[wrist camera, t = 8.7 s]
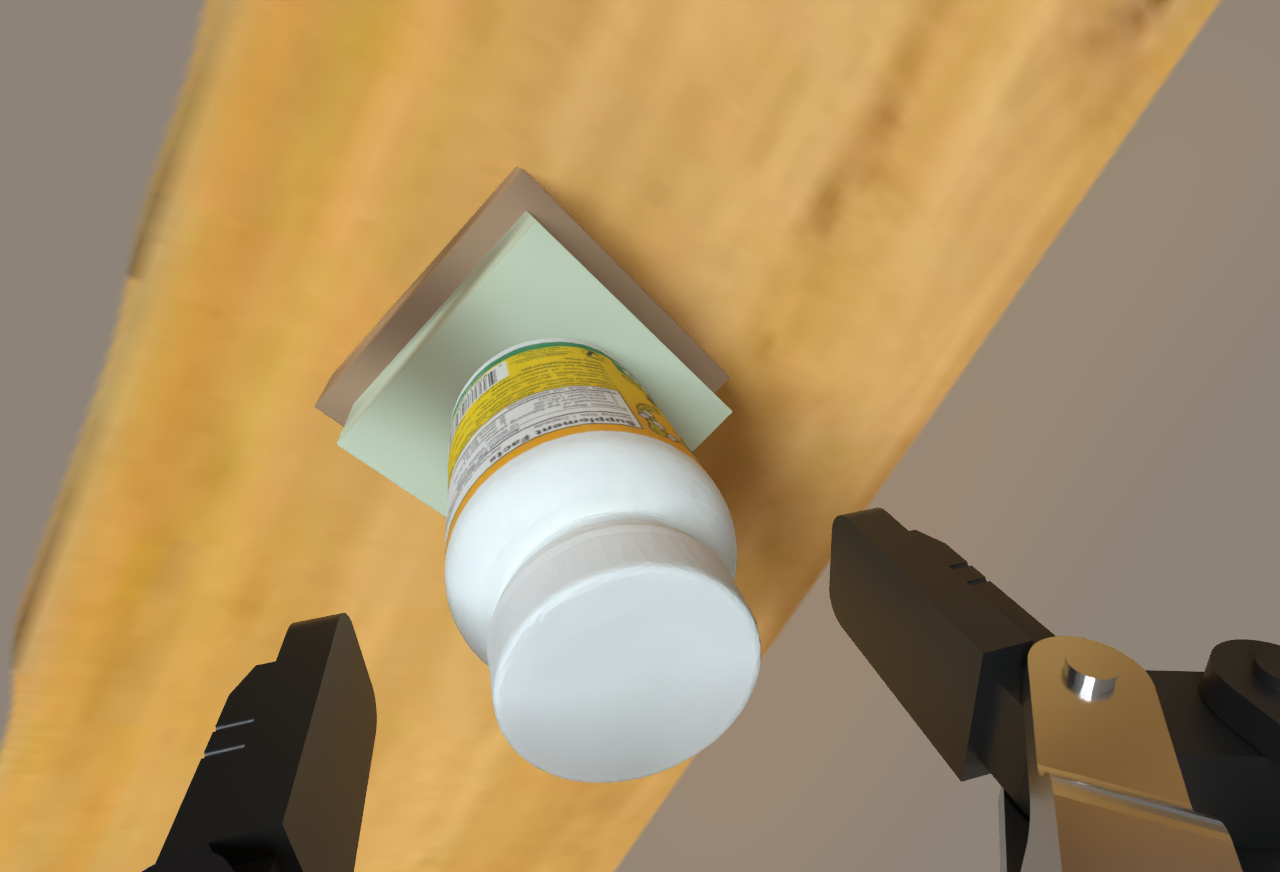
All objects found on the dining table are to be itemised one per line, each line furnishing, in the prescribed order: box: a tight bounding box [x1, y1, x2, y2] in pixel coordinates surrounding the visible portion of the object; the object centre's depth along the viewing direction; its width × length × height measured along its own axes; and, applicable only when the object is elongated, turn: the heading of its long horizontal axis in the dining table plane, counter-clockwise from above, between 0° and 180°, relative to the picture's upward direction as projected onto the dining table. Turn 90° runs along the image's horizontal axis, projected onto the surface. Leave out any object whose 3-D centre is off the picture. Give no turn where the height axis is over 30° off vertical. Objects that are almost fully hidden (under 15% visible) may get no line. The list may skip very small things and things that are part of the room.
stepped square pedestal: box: [314, 167, 733, 517], centre depth 21 cm, size 9×9×6 cm
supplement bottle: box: [445, 338, 761, 783], centre depth 14 cm, size 5×5×10 cm
